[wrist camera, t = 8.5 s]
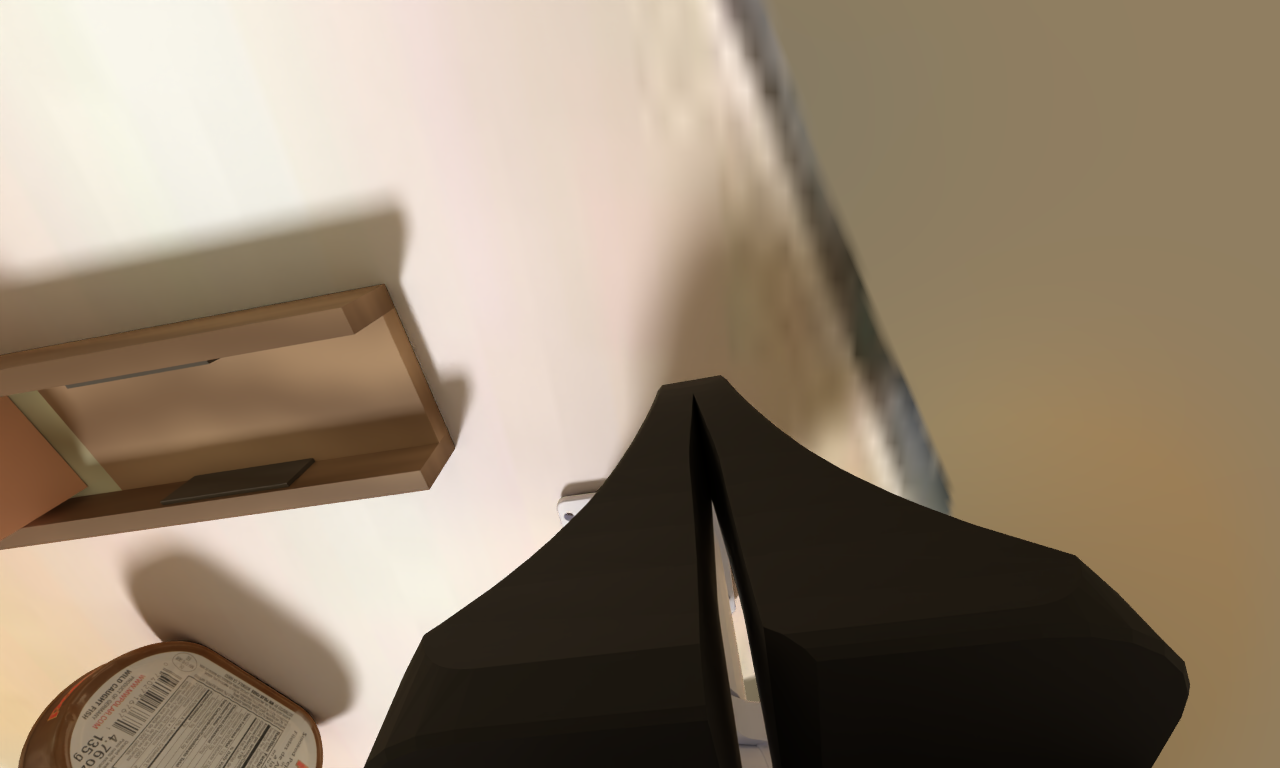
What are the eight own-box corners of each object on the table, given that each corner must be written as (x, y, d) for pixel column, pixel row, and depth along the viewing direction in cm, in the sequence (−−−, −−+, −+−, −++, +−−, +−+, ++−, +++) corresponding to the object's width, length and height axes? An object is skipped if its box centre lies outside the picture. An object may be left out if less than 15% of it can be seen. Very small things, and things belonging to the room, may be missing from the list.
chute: (455, 448, 23) (429, 489, 20) (35, 510, 25) (-40, 555, 22) (384, 283, 19) (341, 307, 16) (-99, 373, 21) (-207, 407, 19)
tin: (130, 625, 29) (-51, 795, 22) (160, 607, 28) (-16, 776, 21) (324, 743, 35) (235, 909, 27) (354, 730, 34) (271, 898, 26)
